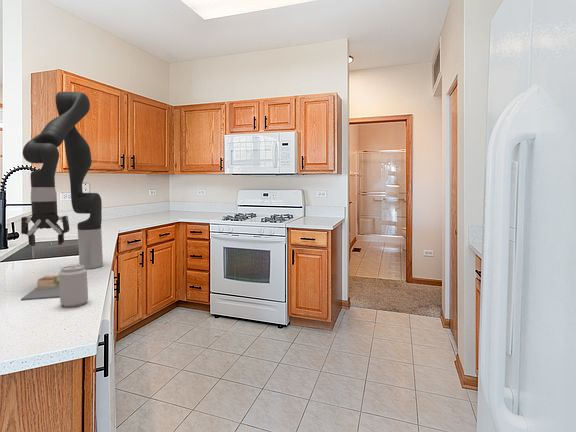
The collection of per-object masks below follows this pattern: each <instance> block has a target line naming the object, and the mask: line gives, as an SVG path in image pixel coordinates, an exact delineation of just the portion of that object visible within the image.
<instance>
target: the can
mask: <svg viewBox="0 0 576 432" xmlns="http://www.w3.org/2000/svg"><path fill="white" fill-rule="evenodd" d="M87 270H88V269H85V268H84V266H83V265H80V264H71V265H66V266H63V267H61V268H60V271H59V273H58V275H59V287H60V297H59V301H60V302H59V303H60V304H61V305H62V306H63V307H64V308H65V307H66V308H75V307H79V306H82V305H84V304H85V303H86V302H87V301H89V291H88V289H89V288H88V271H87Z"/></svg>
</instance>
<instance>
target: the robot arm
mask: <svg viewBox="0 0 576 432" xmlns="http://www.w3.org/2000/svg"><path fill="white" fill-rule="evenodd" d="M55 107H56V110H57V115H58V116H56V117H55V118H53V119H51V120H50V121H49V122H48V123H47V124H46V125H45V126H44V127H43V129H42V130H41V132H40V133H39V134H38V135H35V136H34V137H33V138H32V139H30V140H29V141H28V142H26V144H25V145H24V146H23V147H22V156H23V159H24V160H25V161H26V162H28V163H30V164H42V166H41V168H40V169H36V170H32V171H31V173H30V205H31V216H22V217H21V219H20V224H21V226H20V228H21V229H20V231H21V232H20V233H21V234H22V235H26V236H28V237H27V238H28V240H27V241H28V245H30V246H31V247H34V246H36V234H35V233H36V232H37V230H42V229H48V230H49V229H53V231H55V232H56V233H57V244H58V245H59V246H61V245H63V244H64V242H65V233H69V232H70V223H69V216H67V215H62V216H59V215H58V200H57V199H58V198H57V192H56V191H57V190H56V182H55V180H56V177H55V176H56V172H57V168H58V167H57V166H58V163H59V159H60V151H59V147H60V146H61V145H62V144H63V143H64V151H65V158H66V163H67V168H68V175H69V184H70V187H69V188H70V203H71V207H72V210H73V212H74V213H75V214H89V217H88V218H87V219H85V220H82V221H80V222H78V223H77V241H78V243H77V245H78V260H79V261H78V262H79V263H78V265H83V266H84V268H85V269H86V270H89V269H98V268H102V267H103V266H104V262H103V261H104V258H103V238H102V237H103V236H102V234H103V233H102V221H103V220H102V217H103V215H102V214H103V213H102V210H103V209H102V208H103V205H102V198H101V195H100V194H99V193H98V192H83V184H84V183H83V182H84V180H85V177H86V175H87V173H88V172H89V170H90V168H91V166H92V161H93V160H92V153H91V147H90V145H89V144H88V142H87V141H86V139H85V138H84V137H83V136H82V134H81V133H80V132H79V131H78V129H77V128H76V125H77V124H78V123H79V122H80V121H81V120H82V119H83V118H84V117H86V115H88V113H89V111H90V109H91V103H90V99H89V96H87V95H86V94H85V93H84V92H80V91H58V92H57V93H56V96H55ZM59 221H60V223H62V227H63V228H61V226H60V225H59V224H58V222H59ZM31 222H32V223H33V225H32V226H31V227H30V230H29V223H31Z"/></svg>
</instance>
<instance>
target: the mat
mask: <svg viewBox="0 0 576 432" xmlns="http://www.w3.org/2000/svg"><path fill="white" fill-rule="evenodd" d="M55 298H59V299H60V287H59V284H57V285H56V286H55V287H54V288H52V289H37V287H35V288H34V289H33V290H32V291H29V292H28V293H27V294H25V295H24V296H23V297H22V298H20V300H21V301H31V300H42V299H43V300H46V299H55Z"/></svg>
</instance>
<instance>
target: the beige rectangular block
mask: <svg viewBox="0 0 576 432" xmlns="http://www.w3.org/2000/svg"><path fill="white" fill-rule="evenodd" d="M36 281H37V282H36V285H37V287H36V288H37V289H52V288H54V287H55V286H56V285H57V284H59V274H46V275H44V276H42V277H41V278H38V280H36Z"/></svg>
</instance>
